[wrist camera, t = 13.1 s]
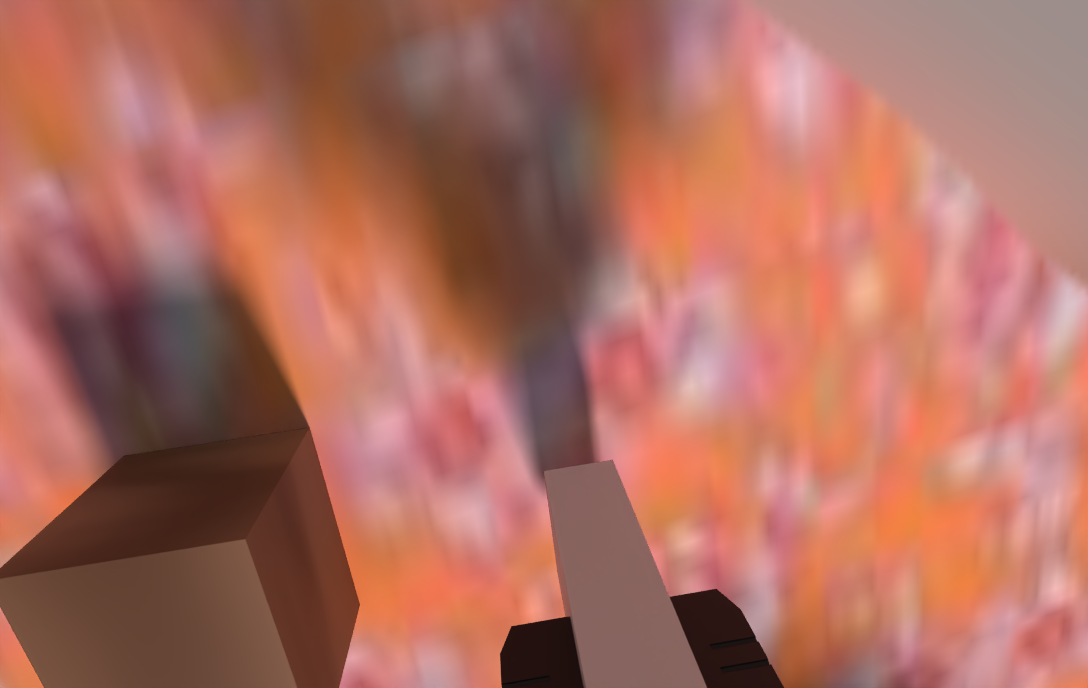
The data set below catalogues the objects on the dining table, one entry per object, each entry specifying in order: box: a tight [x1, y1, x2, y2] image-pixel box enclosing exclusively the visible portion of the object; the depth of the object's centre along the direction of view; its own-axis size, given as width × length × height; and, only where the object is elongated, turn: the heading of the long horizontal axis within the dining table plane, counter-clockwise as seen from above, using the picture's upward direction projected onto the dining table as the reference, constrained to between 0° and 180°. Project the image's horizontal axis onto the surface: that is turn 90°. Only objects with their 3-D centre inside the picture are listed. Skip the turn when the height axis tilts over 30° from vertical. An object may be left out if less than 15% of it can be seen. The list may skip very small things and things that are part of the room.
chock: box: [0, 428, 360, 688], centre depth 12 cm, size 4×5×4 cm
